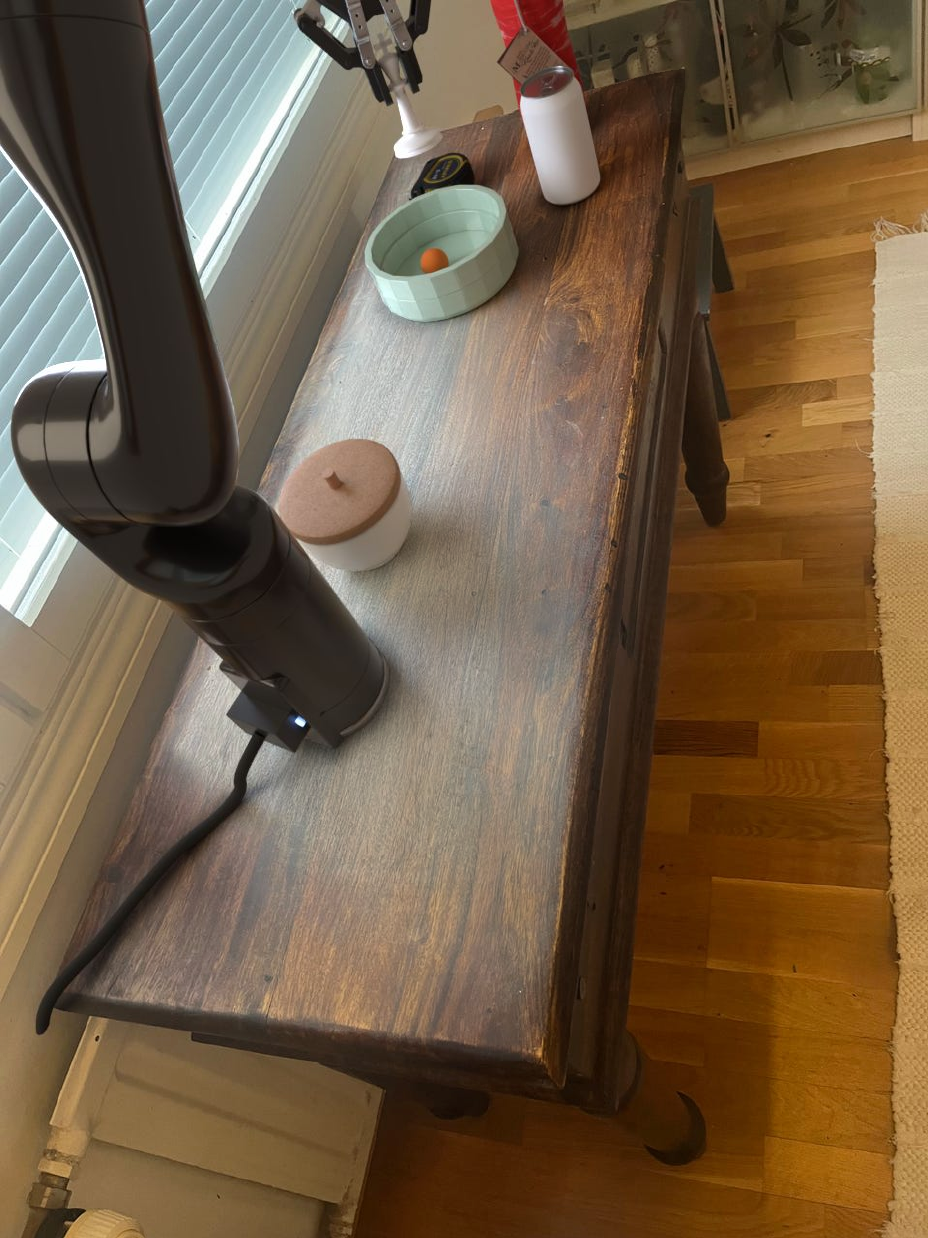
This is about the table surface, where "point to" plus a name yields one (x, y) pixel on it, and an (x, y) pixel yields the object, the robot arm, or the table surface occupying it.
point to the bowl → (464, 231)
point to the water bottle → (533, 39)
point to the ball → (434, 260)
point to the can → (559, 135)
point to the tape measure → (443, 174)
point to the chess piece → (405, 108)
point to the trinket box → (348, 505)
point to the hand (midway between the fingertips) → (401, 94)
